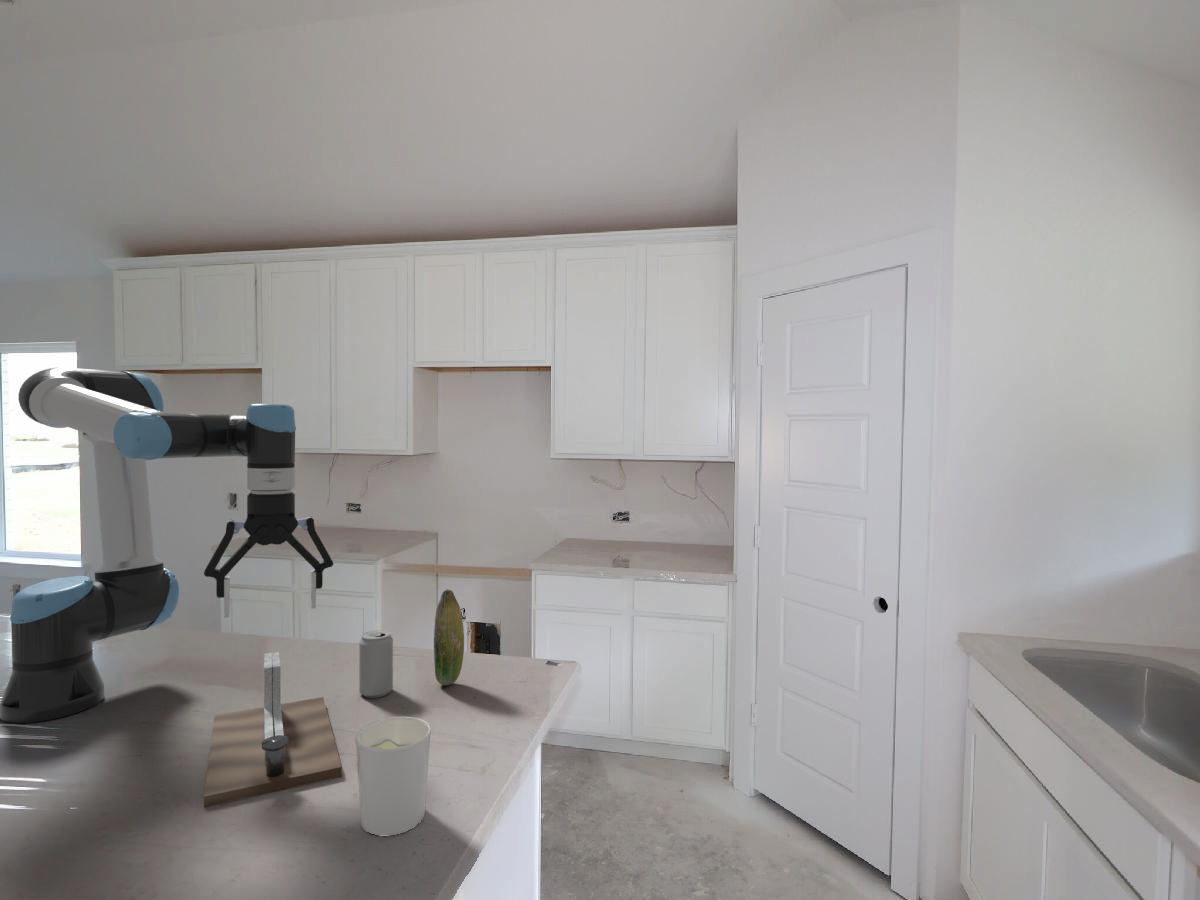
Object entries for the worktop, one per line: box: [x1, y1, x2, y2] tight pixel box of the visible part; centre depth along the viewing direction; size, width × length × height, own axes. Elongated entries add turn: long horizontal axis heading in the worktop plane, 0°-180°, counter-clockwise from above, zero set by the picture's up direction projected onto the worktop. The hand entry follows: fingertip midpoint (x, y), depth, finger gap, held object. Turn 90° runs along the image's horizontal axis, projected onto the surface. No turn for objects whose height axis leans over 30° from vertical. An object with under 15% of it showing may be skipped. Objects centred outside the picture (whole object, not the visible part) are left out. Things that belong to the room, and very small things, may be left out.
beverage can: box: [358, 629, 394, 699], centre depth 131 cm, size 6×6×12 cm
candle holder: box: [355, 716, 432, 836], centre depth 89 cm, size 10×10×12 cm
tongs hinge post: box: [262, 735, 289, 777], centre depth 97 cm, size 4×4×5 cm
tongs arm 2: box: [270, 651, 285, 762], centre depth 110 cm, size 23×1×10 cm, turn 28°
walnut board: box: [203, 696, 342, 808], centre depth 108 cm, size 29×18×2 cm, turn 28°
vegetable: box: [433, 588, 465, 686], centre depth 135 cm, size 6×6×20 cm
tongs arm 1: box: [263, 652, 273, 766], centre depth 109 cm, size 23×1×10 cm, turn 28°
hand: (271, 611), depth 115 cm, fingers open, 13 cm apart
